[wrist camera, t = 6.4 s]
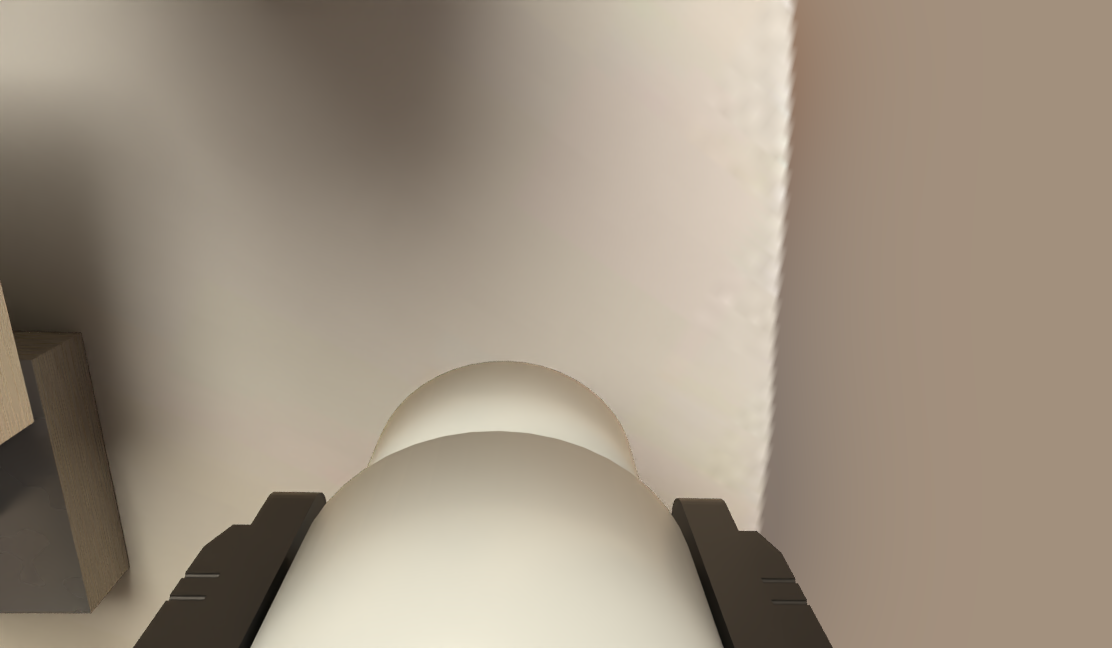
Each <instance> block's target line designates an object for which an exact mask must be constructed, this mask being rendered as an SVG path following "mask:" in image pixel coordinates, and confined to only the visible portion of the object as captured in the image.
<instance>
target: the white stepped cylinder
mask: <svg viewBox="0 0 1112 648" xmlns="http://www.w3.org/2000/svg"><path fill="white" fill-rule="evenodd" d="M250 648H723V645H722V642H721V639H720V636H719V633H718V630H717V628H716V625H715V622H714V619H713V616H712V613H711V610H710V607H709V605H708V602H707V599H706V596H705V593H704V590H703V587H702V584H701V582H700V579H699V576H698V573H697V570H696V567H695V564H694V561H693V558H692V556H691V553H690V550H689V547H688V545H687V543H686V540H685V538H684V536H683V534H682V532H681V529H680V527H679V525H678V524H677V522H676V521H675V519H674V518H673V516H672V515H671V513H670V512H669V510H668V509H667V507H666V506H665V505H664V504H663V503H662V502H661V501H660V499H659V498H658V497H657V496H656V495H655V494H654V493H653V492H652V490H651V489H650V488H648V487H647V486H646V485H645V484H644V483H642V482H641V481H640V480H639V477H638V474H637V470H636V466H635V463H634V459H633V456H632V452H631V449H630V445H629V442H628V439H627V437H626V434H625V432H624V430H623V428H622V426H621V424H620V422H619V421H618V419H617V418H616V416H615V415H614V413H613V412H612V411H611V410H610V408H609V407H608V406H607V405H606V404H605V403H604V401H603V400H602V399H600V398H599V397H598V396H597V395H596V394H595V393H594V392H592V391H591V390H590V389H589V388H587V387H586V386H584V385H583V384H581V383H580V382H578V381H577V380H575V379H573V378H571V377H569V376H567V375H565V374H563V373H561V372H558V371H555V370H552V369H549V368H547V367H544V366H539V365H535V364H530V363H525V362H513V361H493V362H483V363H477V364H471V365H467V366H464V367H460V368H457V369H453V370H451V371H449V372H446V373H444V374H442V375H439V376H437V377H435V378H434V379H432V380H430V381H429V382H427V383H425V384H424V385H422V386H421V387H419V388H418V389H417V390H416V391H414V392H413V393H412V394H410V395H409V396H408V397H407V398H406V399H405V400H404V401H403V402H402V403H401V404H400V405H399V407H398V408H397V409H396V410H395V412H394V413H393V414H392V416H391V417H390V419H389V420H388V422H387V424H386V426H385V428H384V429H383V431H382V433H381V435H380V438H379V440H378V443H377V445H376V447H375V450H374V452H373V454H372V457H371V459H370V462H369V464H368V466H367V468H365V469H364V470H363V471H361V472H360V473H359V474H357V475H356V476H355V477H354V478H352V479H351V480H350V481H348V482H347V483H346V484H344V485H343V486H342V487H341V488H340V490H339V491H338V492H337V493H336V494H335V495H334V496H333V497H332V498H331V499H330V500H329V501H328V502H327V503H326V504H325V506H324V507H323V508H322V510H321V511H320V513H319V514H318V515H317V517H316V518H315V519H314V521H313V522H312V524H311V526H310V528H309V530H308V532H307V534H306V536H305V538H304V540H303V542H302V544H301V546H300V548H299V550H298V552H297V554H296V556H295V558H294V560H293V562H292V564H291V566H290V568H289V570H288V572H287V574H286V576H285V578H284V580H283V582H282V584H281V587H280V589H279V591H278V593H277V595H276V597H275V599H274V601H273V603H272V605H271V607H270V609H269V611H268V613H267V615H266V617H265V619H264V621H263V623H262V625H261V627H260V629H259V631H258V633H257V635H256V637H255V639H254V641H253V643H252V645H251V647H250Z"/></svg>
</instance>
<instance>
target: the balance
mask: <svg viewBox="0 0 1112 648" xmlns="http://www.w3.org/2000/svg"><path fill="white" fill-rule="evenodd" d="M128 568H129V563H128V558H127V553H126V549H125V544H124V539H123V534H122V529H121V524H120V519H119V515H118V510H117V505H116V500H115V495H114V490H113V485H112V480H111V476H110V471H109V466H108V461H107V456H106V451H105V446H104V442H103V437H102V432H101V427H100V422H99V417H98V412H97V408H96V403H95V398H94V393H93V388H92V383H91V378H90V374H89V369H88V364H87V359H86V354H85V349H84V344H83V340H82V335H81V333H67V332H26V331H12V328H11V324H10V319H9V315H8V311H7V307H6V303H5V299H4V295H3V290H2V286H1V282H0V613H92V611H93V610H94V609H95V608H96V607H97V605H98V604H99V603H100V602H101V600H102V599H103V598H104V597H105V596H106V594H107V593H108V592H109V591H110V590H111V588H112V587H113V586H114V585H115V584H116V582H117V581H118V580H119V579H120V578H121V576H122V575H123V574H124V573H125V572H126V570H127V569H128Z"/></svg>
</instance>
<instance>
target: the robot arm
mask: <svg viewBox="0 0 1112 648" xmlns="http://www.w3.org/2000/svg"><path fill="white" fill-rule="evenodd" d="M325 504H326V499H325V496H324V494H323V493H317V492H273V493H271V494H270V495H269V497H268V498H267V500H266V501H265V503H264V505H263V506H262V508H261V509H260V511H259V513H258V514H257V516H256V517H255V519H254V521H253V522H252V524H251V525H232V526H231V527H229V528H228V529H227V530H225V531H224V532H223V533H221V534H220V535H219V536H217V537H216V538H215V539H213V540H212V541H211V542H209V543H208V544H207V545H205V546H204V547H203V548H202V550H201V551H200V553H199V554H198V556H197V557H196V558H195V560H194V561H193V563H192V564H191V566H190V567H189V568H188V570H187V571H186V573H185V578H182V579H181V580H180V581H179V583H178V584H177V586H176V587H175V589H174V590H173V591H172V593H171V594H170V599H169V601H165V603H164V604H163V606H162V607H161V609H160V610H159V611H158V613H157V614H156V616H155V617H154V619H153V620H152V621H151V623H150V624H149V626H148V627H147V629H146V630H145V631H144V633H143V634H142V636H141V637H140V639H139V640H138V641H137V643H136V644H135V646H134V647H133V648H250V647H251V645H252V643H253V641H254V639H255V637H256V635H257V633H258V631H259V629H260V627H261V625H262V623H263V621H264V619H265V617H266V615H267V613H268V611H269V609H270V607H271V605H272V603H273V601H274V599H275V597H276V595H277V593H278V591H279V589H280V587H281V584H282V582H283V580H284V578H285V576H286V574H287V572H288V570H289V568H290V566H291V564H292V562H293V560H294V558H295V556H296V554H297V552H298V550H299V548H300V546H301V544H302V542H303V540H304V538H305V536H306V534H307V532H308V530H309V528H310V526H311V524H312V522H313V521H314V519H315V518H316V517H317V515H318V514H319V513H320V511H321V510H322V508H323V507H324V506H325ZM671 515H672V516H673V518H674V519H675V521H676V522H677V524H678V525H679V527H680V529H681V532H682V534H683V536H684V538H685V540H686V543H687V545H688V547H689V550H690V553H691V556H692V558H693V561H694V564H695V567H696V570H697V573H698V576H699V579H700V582H701V584H702V587H703V590H704V593H705V596H706V599H707V602H708V605H709V607H710V610H711V613H712V616H713V619H714V622H715V625H716V628H717V630H718V633H719V636H720V639H721V642H722V645H723V648H832V645H831V644H830V642H829V640H828V638H827V636H826V634H825V633H824V631H823V629H822V627H821V625H820V623H819V622H818V620H817V618H816V616H815V614H814V612H813V610H812V609H811V607H810V605H807V599H806V597H805V596H804V594H803V592H802V590H801V588H800V586H799V585H798V584H797V583H795V577H794V575H793V573H792V572H791V570H790V568H789V566H788V565H787V562H786V561H785V559H784V557H783V555H782V554H781V552H780V551H778V550H777V549H776V548H775V547H774V546H773V545H772V544H771V543H770V542H768V541H767V540H766V539H765V538H764V537H763V536H762V535H761V534H759V533H758V532H757V531H738V529H737V527H736V524H735V522H734V520H733V518H732V516H731V514H730V512H729V510H728V508H727V505H726V504H725V502H724V501H723V500H722V499H698V498H676V499H675V501H674V504H673V508H672V514H671Z"/></svg>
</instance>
